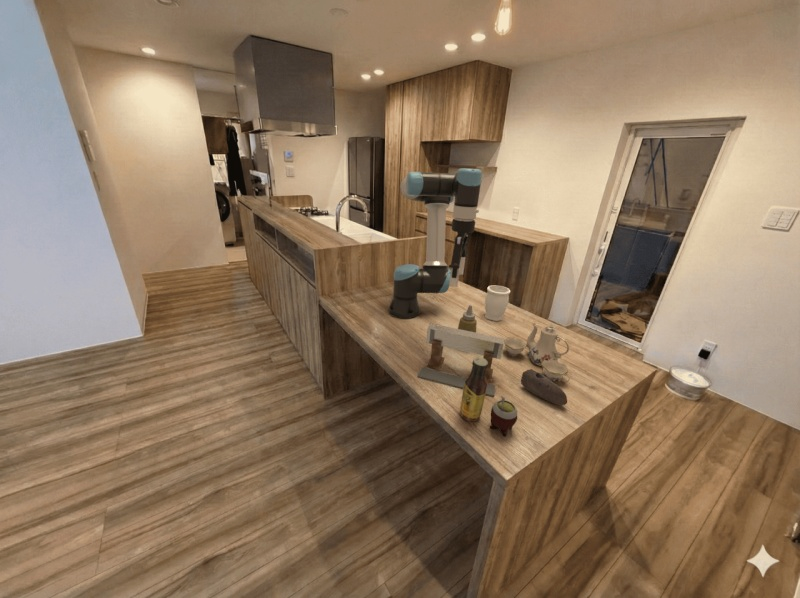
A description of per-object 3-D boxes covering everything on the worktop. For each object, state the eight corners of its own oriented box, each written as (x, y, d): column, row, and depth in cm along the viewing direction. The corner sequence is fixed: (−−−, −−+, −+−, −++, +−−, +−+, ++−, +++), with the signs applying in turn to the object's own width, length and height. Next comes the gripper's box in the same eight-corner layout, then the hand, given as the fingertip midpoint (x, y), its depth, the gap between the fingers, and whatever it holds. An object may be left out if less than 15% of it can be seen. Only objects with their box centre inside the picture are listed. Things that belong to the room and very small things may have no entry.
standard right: (476, 378, 112) (481, 352, 108) (479, 367, 118) (483, 342, 114) (491, 382, 111) (496, 356, 106) (492, 371, 117) (497, 345, 112)
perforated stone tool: (568, 406, 102) (574, 388, 99) (560, 413, 99) (566, 395, 96) (526, 381, 112) (530, 365, 109) (517, 387, 109) (521, 370, 106)
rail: (425, 342, 115) (427, 328, 113) (428, 337, 119) (430, 323, 116) (500, 359, 108) (503, 344, 105) (501, 353, 111) (504, 338, 109)
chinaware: (493, 355, 129) (497, 320, 122) (518, 340, 138) (524, 306, 130) (560, 394, 109) (570, 355, 101) (584, 373, 118) (595, 336, 110)
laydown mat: (417, 377, 111) (417, 375, 111) (421, 368, 116) (421, 366, 116) (493, 397, 104) (494, 395, 104) (495, 386, 109) (495, 385, 108)
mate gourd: (508, 418, 95) (518, 377, 89) (518, 440, 88) (529, 397, 82) (483, 418, 95) (492, 377, 89) (491, 440, 88) (501, 397, 82)
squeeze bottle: (475, 342, 134) (482, 303, 127) (473, 352, 127) (479, 312, 120) (456, 338, 137) (461, 300, 129) (453, 348, 130) (458, 308, 122)
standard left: (426, 366, 117) (429, 341, 113) (431, 356, 123) (434, 332, 119) (440, 369, 116) (443, 344, 112) (444, 359, 122) (447, 335, 118)
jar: (502, 313, 161) (508, 285, 155) (506, 323, 152) (512, 294, 146) (481, 311, 162) (485, 284, 156) (484, 321, 153) (489, 292, 147)
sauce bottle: (457, 407, 99) (465, 353, 91) (476, 407, 99) (486, 353, 91) (462, 424, 93) (472, 367, 85) (483, 423, 93) (494, 366, 85)
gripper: (471, 226, 93) (462, 293, 102) (479, 214, 115) (471, 271, 124) (445, 224, 95) (438, 290, 104) (458, 213, 117) (452, 268, 126)
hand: (456, 279), depth 114 cm, fingers open, 13 cm apart
